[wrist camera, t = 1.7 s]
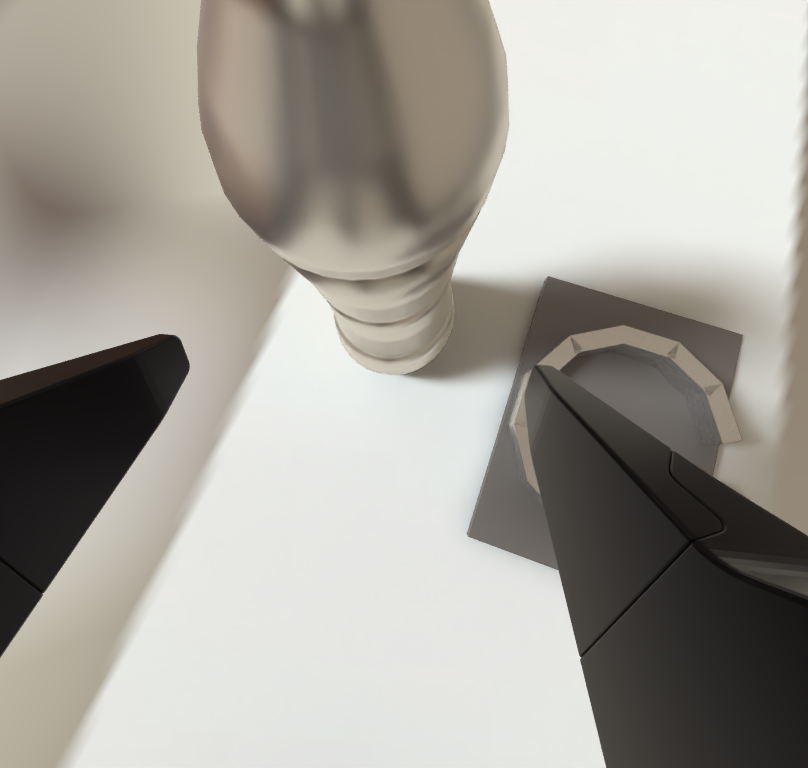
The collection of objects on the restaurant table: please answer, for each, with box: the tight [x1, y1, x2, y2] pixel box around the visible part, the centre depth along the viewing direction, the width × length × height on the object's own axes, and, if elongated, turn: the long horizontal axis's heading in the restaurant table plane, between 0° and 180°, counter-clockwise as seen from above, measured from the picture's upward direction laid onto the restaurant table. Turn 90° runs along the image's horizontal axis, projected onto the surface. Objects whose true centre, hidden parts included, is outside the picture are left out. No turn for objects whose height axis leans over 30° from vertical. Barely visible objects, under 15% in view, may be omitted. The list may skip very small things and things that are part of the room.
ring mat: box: [467, 276, 743, 570], centre depth 20 cm, size 16×12×1 cm
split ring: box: [506, 325, 742, 505], centre depth 19 cm, size 11×11×2 cm
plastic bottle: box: [197, 0, 509, 375], centre depth 12 cm, size 6×7×20 cm
